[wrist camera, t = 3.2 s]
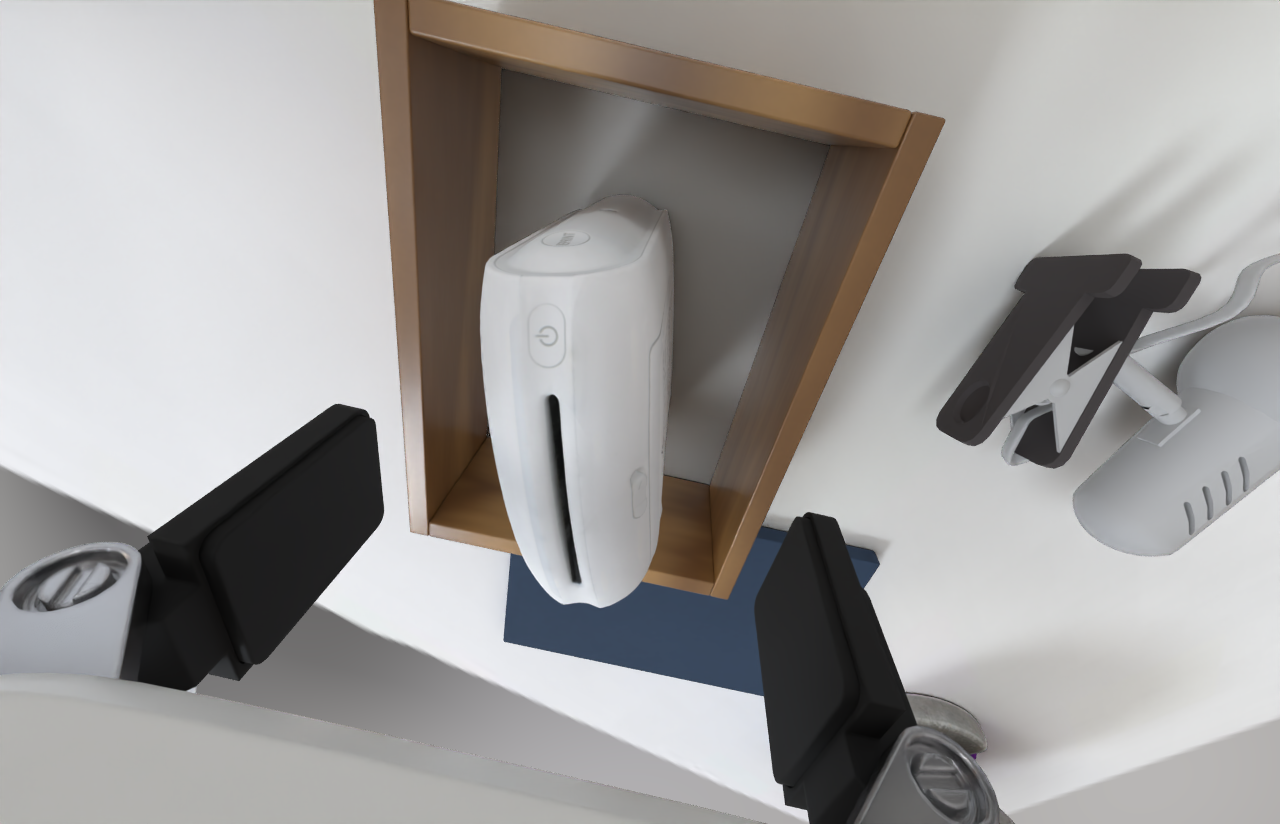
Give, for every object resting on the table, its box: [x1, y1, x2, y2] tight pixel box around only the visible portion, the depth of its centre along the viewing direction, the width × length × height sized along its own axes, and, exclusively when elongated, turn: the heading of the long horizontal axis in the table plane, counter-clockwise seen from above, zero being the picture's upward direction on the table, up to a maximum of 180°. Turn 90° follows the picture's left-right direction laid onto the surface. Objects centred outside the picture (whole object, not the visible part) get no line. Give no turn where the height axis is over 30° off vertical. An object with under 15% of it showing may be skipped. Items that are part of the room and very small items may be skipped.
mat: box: [504, 527, 880, 696], centre depth 29 cm, size 20×14×1 cm
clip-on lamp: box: [936, 254, 1280, 556], centre depth 16 cm, size 12×6×18 cm
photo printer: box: [480, 194, 674, 608], centre depth 16 cm, size 10×4×12 cm, turn 1°
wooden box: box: [374, 0, 945, 600], centre depth 18 cm, size 14×18×6 cm
